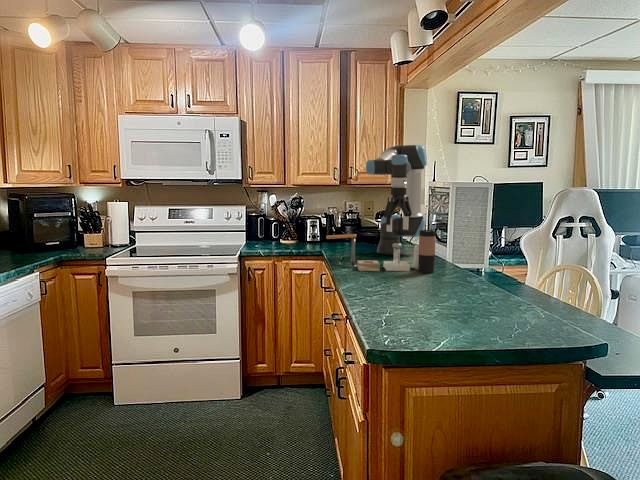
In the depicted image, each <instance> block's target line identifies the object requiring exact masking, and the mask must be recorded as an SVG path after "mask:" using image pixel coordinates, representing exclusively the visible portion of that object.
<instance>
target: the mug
mask: <svg viewBox="0 0 640 480" xmlns="http://www.w3.org/2000/svg"><path fill="white" fill-rule="evenodd" d="M413 267H414V269H416V270H419V269H418V268H419V244H418V245H417V244H416V245H414V246H413Z"/></svg>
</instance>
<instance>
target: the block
mask: <svg viewBox="0 0 640 480" xmlns="http://www.w3.org/2000/svg"><path fill="white" fill-rule="evenodd" d="M356 262H357V264H356V265H357V270H358V271H359V272H380V270H381V268H380V267H381V264H380V262H379V261H378V260H371V259H370V260H367V259H366V260H362V259H361V260H356Z"/></svg>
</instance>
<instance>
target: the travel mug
mask: <svg viewBox="0 0 640 480" xmlns="http://www.w3.org/2000/svg"><path fill="white" fill-rule="evenodd" d="M436 232H437V231H435V230H432V229H424V230H420V234H419V237H418V239H419V240H418V245H419V268H418V269H417V270H418V273H420V274H423V275H424V274H428V275H429V274H430V275H431V274H434V273H435V272H434V271H435V258H436V237H437V236H436Z"/></svg>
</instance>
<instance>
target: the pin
mask: <svg viewBox="0 0 640 480" xmlns="http://www.w3.org/2000/svg"><path fill="white" fill-rule="evenodd" d="M393 247H394V254H393V260H392V261H393V265H399V264H400V261H401V260H400V259H401V254H400V247H401V248H402V243H401V242H400V243H393Z"/></svg>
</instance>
